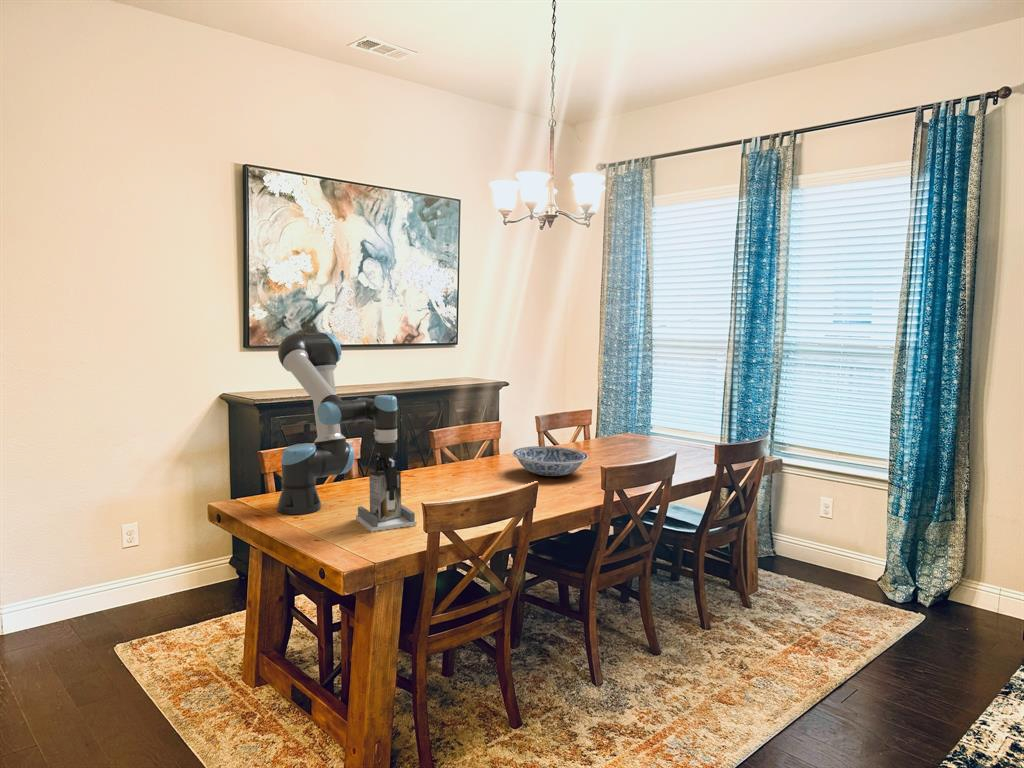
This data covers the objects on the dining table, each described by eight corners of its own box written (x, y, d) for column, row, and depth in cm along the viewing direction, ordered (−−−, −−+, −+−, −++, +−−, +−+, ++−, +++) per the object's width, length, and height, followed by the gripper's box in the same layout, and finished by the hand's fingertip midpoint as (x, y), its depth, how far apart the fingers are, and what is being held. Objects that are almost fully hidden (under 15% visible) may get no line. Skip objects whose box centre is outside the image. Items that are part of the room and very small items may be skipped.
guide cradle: (355, 519, 246) (355, 507, 245) (399, 513, 254) (399, 501, 253) (371, 532, 232) (371, 518, 231) (416, 525, 240) (416, 512, 240)
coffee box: (390, 513, 248) (390, 468, 247) (401, 517, 244) (401, 470, 243) (368, 518, 242) (368, 471, 240) (380, 522, 237) (380, 474, 236)
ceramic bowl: (560, 487, 297) (561, 464, 296) (496, 475, 318) (497, 453, 317) (601, 473, 324) (602, 452, 323) (540, 463, 345) (540, 443, 344)
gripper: (364, 436, 247) (365, 499, 249) (386, 447, 229) (386, 515, 231) (385, 435, 251) (385, 497, 253) (408, 445, 233) (407, 512, 235)
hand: (385, 505), depth 242 cm, fingers open, 9 cm apart
